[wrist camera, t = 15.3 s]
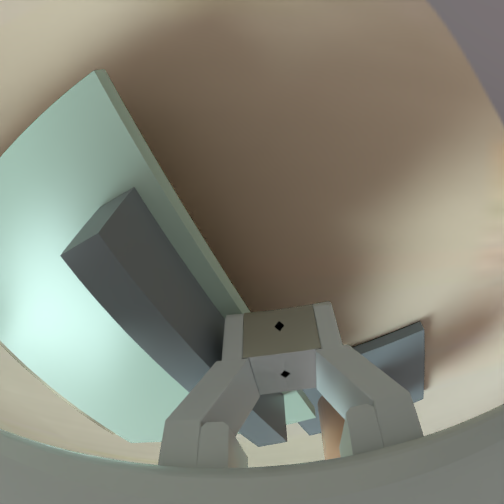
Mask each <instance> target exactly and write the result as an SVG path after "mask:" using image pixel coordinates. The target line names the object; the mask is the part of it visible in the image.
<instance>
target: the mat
mask: <svg viewBox="0 0 504 504" xmlns="http://www.w3.org/2000/svg"><path fill="white" fill-rule="evenodd" d="M353 349H355V350H356V351H357V352H358V353H360V354H361V355H362V356H364V357H365V358H366V359H367V360H369V361H370V362H371V363H373V364H374V365H375V366H376V367H378V368H379V369H380V370H382V371H383V372H384V373H385V374H387V375H388V376H389V377H391V378H392V379H393V380H394V381H396V382H397V383H398V384H400V385H401V386H402V387H404V388H405V389H406V390H407V391H409V392H410V395H411V398H412V401H413V403H415V402H417V401H419V400H422V399H423V394H424V358H425V350H424V328H423V326H422V324H421V322H417V323H415V324H413V325H410V326H408V327H405V328H403V329H400V330H398V331H395V332H393V333H390V334H388V335H385V336H383V337H380V338H377V339H375V340H372V341H369V342H367V343H364V344H361V345H358V346H355V347H353ZM303 391H304V393H305V394H306V396H307V397H308V399H309V400H310V402H311V403H312V404H313V406H314V407H315V414H316V418H313V419H309V420H305V421H300V422H298V423H299V425H300V426H301V427H302V428H303V429H304V430H305V431H306V432H307V433H308V434H309V435H314V434H318V433H321V426H320V419H319V412H318V405H317V404H318V400H319V399H320V397H321V396H322V394H321V393H320V392H319V391H318V390H317V388H311V389H303Z"/></svg>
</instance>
